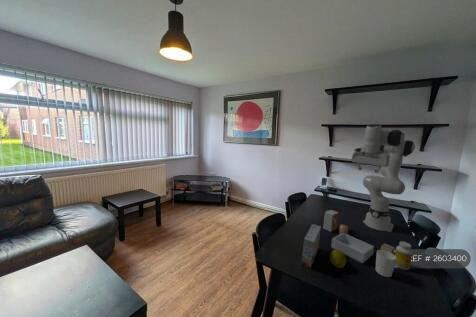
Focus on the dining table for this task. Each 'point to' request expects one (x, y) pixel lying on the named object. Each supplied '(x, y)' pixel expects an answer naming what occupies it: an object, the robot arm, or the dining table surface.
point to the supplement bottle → (403, 255)
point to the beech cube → (387, 248)
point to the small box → (330, 220)
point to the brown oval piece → (343, 229)
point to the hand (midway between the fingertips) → (367, 171)
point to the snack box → (311, 246)
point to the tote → (352, 247)
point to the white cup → (385, 263)
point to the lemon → (337, 258)
